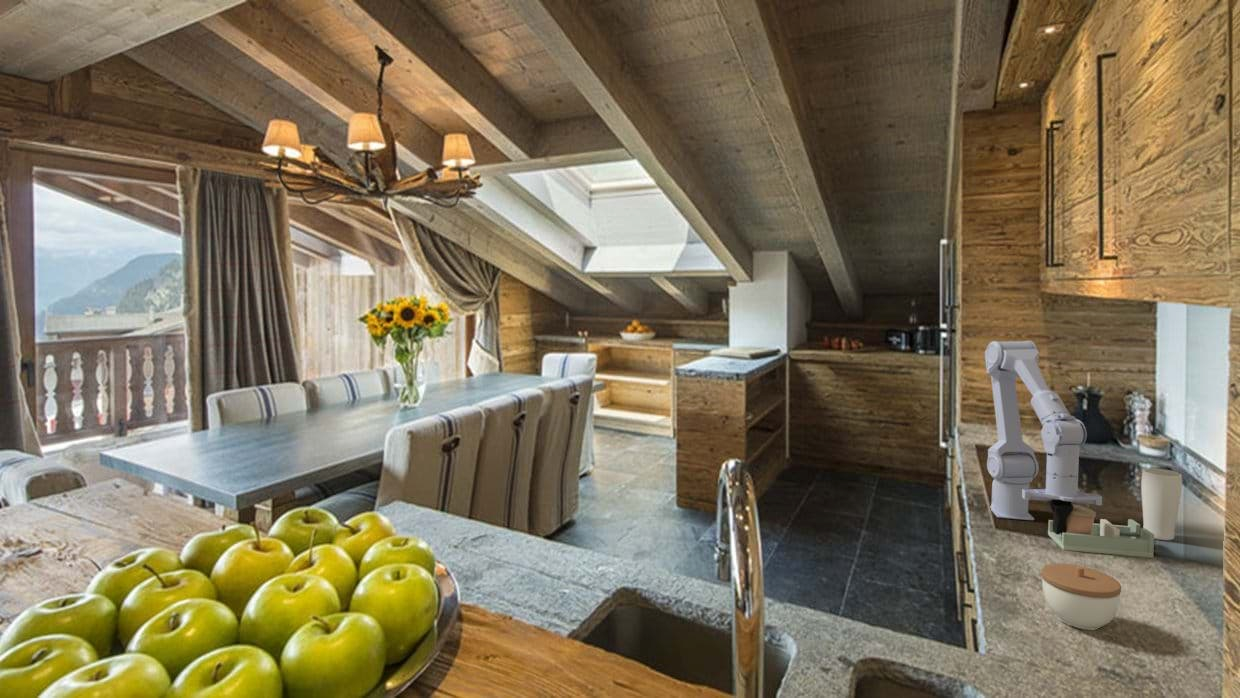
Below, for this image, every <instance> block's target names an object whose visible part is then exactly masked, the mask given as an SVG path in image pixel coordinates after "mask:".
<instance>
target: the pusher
mask: <svg viewBox="0 0 1240 698" xmlns="http://www.w3.org/2000/svg"><path fill="white" fill-rule="evenodd" d="M1099 524H1100V536H1111V537H1119V536H1130V537H1140V538H1141V532H1140V533H1139V532H1126V531H1120V530H1119V529H1118V528H1116V527H1115V526H1114V525H1115V524H1112V523H1111V522H1110V521H1108V519H1106V518H1105V519H1104V518H1100V521H1099Z"/></svg>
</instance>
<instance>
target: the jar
mask: <svg viewBox="0 0 1240 698" xmlns="http://www.w3.org/2000/svg"><path fill="white" fill-rule="evenodd" d="M1072 505H1073V510H1072V511H1071V513H1070V514H1069V515H1068V517H1067V518H1066V533H1074V534H1087V535H1091V532H1092V527H1093V523H1094V522H1095V518H1096V514H1097V513H1096V511H1094V510H1093V509H1091V508H1088V507H1086V506H1081V505H1078V504H1072ZM1061 536H1062V535H1061Z"/></svg>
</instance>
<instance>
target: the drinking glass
mask: <svg viewBox="0 0 1240 698" xmlns="http://www.w3.org/2000/svg"><path fill="white" fill-rule="evenodd" d="M1141 472H1142V473H1141V479H1140V484H1141V485H1140V491H1141V493H1140V494H1141V506H1142V508H1141V509H1142V522H1143V525H1142V528H1145V529H1147V530H1148V531H1150V532H1151V533H1153V534H1154V540H1159V541H1173V540H1174V539H1175V537H1176V536H1175V535H1176V527H1177V522H1178V521H1177V520H1178V514H1179V508H1180V504H1181V503H1180V502H1181V497H1182V489H1183V478H1182V477H1183V475H1182V474H1181V473H1179V472H1177V471H1175V470H1174V471H1173V470H1169V469H1163V468H1153V467H1151V468H1143V469H1142V471H1141Z"/></svg>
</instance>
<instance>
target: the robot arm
mask: <svg viewBox="0 0 1240 698" xmlns="http://www.w3.org/2000/svg"><path fill="white" fill-rule="evenodd" d="M984 359H985V360H984V361H985V366H986V374H988V375H989V376H990V382H991V389H992V396H993V397H992V398H993V407H994V415H995V423H996V431H997V438H998V441H997V442H995V443H994V444H993V445H991V446H990V447H989V448H988V449H987V460H986V468H987V471H988V473H989V474H990V476H991V478H992V479H993V481H992V483H991V484H992V485H991V503H990V504H991V506H990V508H991V509H990V508H989V509H990V510H991V512H992V513H993V514H994V515H995V516H996V518H999V519H1000V518H1001V519H1013V520H1025V521H1034V520H1035V518H1034V517H1033V515H1031V514H1030V513H1029V501H1030V500H1034V501H1047V503H1048V505H1049V507H1050V509H1051V510H1052V515H1053V519H1052V520H1053V532H1054V533H1055V534H1058V535H1060V534H1061V535H1062V533H1066V518H1067V517H1068V515H1069V514H1070V513H1071V511H1072V510H1073V505H1074V504H1072V503H1076V504H1089V505H1096V506H1103V497H1102V496H1101V495H1100V494H1097V493H1088V492H1081V491H1078V489H1079V484H1078V483H1079V461H1080V459H1079V457H1080V446H1082V445H1084V444H1085V443H1086V441H1087V436H1088V434H1087V429H1086V426H1085V424H1084V422H1082V421H1081V420H1080V419H1077V418H1076V417H1075V416H1074V415H1071V414H1070V412H1069V411H1068V409H1067V407H1066V405H1065V404H1064V402H1063V400H1062V399H1061V397H1060V395H1059V394H1058V393H1057V392H1055V391H1051V390H1050V388H1049V386H1048V384H1047V381H1046V379H1045V377H1044V375H1043V372H1042V371H1041V368H1040V366H1039V363H1038V362H1039V359H1040V352H1039V350H1038V347H1037V345H1036V344H1035V342H1034V341H1033V340H1025V341H1024V340H1021V341H1019V340H1015V341H1013V340H1012V341H1009V340H1007V341H997V340H993V341H990V342H989V343H988V345H987V347H986V349H985V351H984ZM1018 376H1019V378H1020V379H1021V381H1022V382H1023V383H1024V385H1025V387H1026V388H1027V390H1028V391H1029V392H1030V394H1031V396H1032V397H1031V399H1030V404H1031V407H1032V409H1033V411H1034V412H1035V414H1036V416H1037V418H1038V420H1039V422H1040V423H1041V426H1042V428H1041V430H1040V436H1041V439H1042V441H1043V449H1044V451H1045V453H1046V465H1045V466H1046V471H1045V488H1039V489H1038V488H1034V489H1033V488H1030V483H1033V479H1035V478H1036V477H1037V476H1038V473H1039V470H1040V469H1039V462H1038V460H1037V459H1036V456H1035V451H1034V448H1033V447H1031V446H1030V445H1029V444H1027V443H1026V442H1025V441H1023V433H1022V425H1021V417H1020V416H1021V415H1020V410H1019V409H1020V408H1019V402H1018V401H1019V400H1018V394H1017V393H1018V392H1017V386H1016V385H1017V384H1016V379H1017V377H1018Z"/></svg>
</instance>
